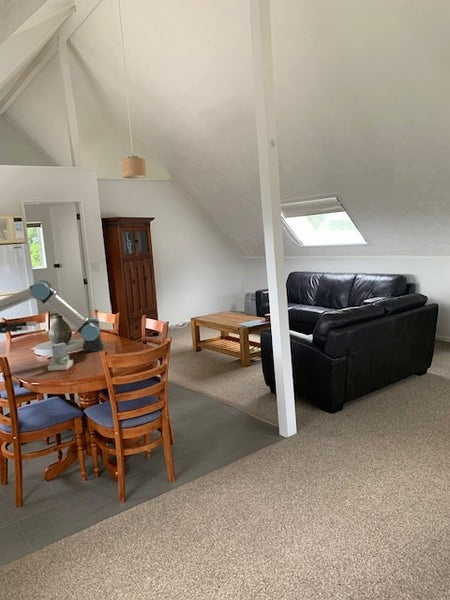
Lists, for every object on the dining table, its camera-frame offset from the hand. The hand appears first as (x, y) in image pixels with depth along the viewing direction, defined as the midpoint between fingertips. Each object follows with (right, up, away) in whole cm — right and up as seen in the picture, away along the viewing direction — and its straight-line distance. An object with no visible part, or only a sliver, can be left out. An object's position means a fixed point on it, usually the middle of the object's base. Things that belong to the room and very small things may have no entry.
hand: (32, 325), depth 299 cm
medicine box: (+22, -20, -9) cm, 31 cm away
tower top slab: (+22, -23, -8) cm, 33 cm away
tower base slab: (+22, -27, -8) cm, 35 cm away
